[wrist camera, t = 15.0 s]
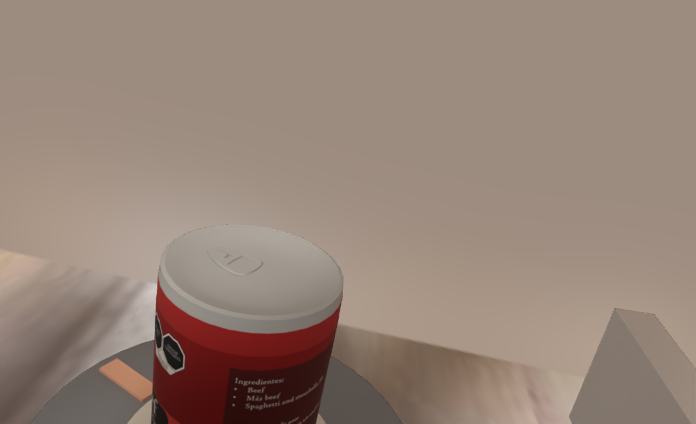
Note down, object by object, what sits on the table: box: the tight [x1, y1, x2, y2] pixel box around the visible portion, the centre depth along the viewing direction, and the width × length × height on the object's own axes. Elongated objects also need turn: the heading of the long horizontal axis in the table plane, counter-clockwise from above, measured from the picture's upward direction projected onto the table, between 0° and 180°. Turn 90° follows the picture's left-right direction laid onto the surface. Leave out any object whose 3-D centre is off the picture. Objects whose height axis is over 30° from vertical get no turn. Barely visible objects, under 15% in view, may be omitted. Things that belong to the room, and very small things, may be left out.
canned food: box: [151, 225, 343, 424], centre depth 26 cm, size 8×8×11 cm
